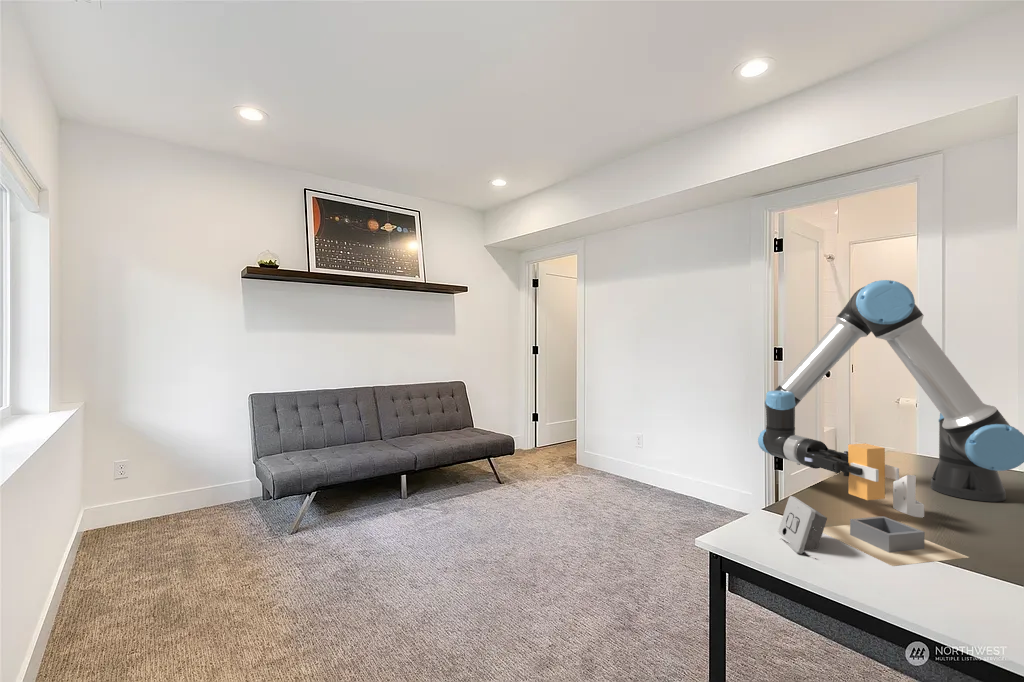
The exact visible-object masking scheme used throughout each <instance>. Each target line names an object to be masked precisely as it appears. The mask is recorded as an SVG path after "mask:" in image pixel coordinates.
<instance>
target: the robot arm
mask: <svg viewBox="0 0 1024 682" xmlns="http://www.w3.org/2000/svg"><path fill="white" fill-rule="evenodd" d="M923 319H924V314H923V313H922V311H921V310H920V308H919V307H918V306H917V305H916V301H915V297H914V294H913V291H911V289H910V288H909V287H908V286H906V285H905V284H903V283H901V282H899V281H895V280H891V279H890V280H889V279H881V280H875V281H873V282H871V283H868V284H867V285H865V286H863V287H861V288H859V289H857V290H856V291H855V292H854V293H853V295H852V296H851V298H850V299H849V300H848V302H847V304H846V305H845V306H844V307H843V308H842V309H841V311H840V312H839V313H838V315H837V316H836V317H835V324H833V326H831V328H830V329H829V330H828V331H826V334H824V335H823V337H821V339H820V340H819V341H818V342H817V343H816V344H815V346H814V347H812V348H811V350H810V351H809V352H808V353H807V354H806V355H805V356H804V358H802V359H801V361H800V362H799V363H798V364H797V365H796V366H795V367H794V368H793V370H791V372H789V374H788V375H787V376H786V377H785V378H783V379H784V380H782V381H781V382H780V384H779V385H778V386H777V387H776V388H775V389H774V390H768V391H767V392H766V394H765V395H766V396H765V401H764V407H765V420H766V421H765V422H766V425H765V429H763V430H762V431H761V432H760V433H759V435H758V437H757V438H758V439H757V444H758V446H759V448H760V449H761V450H762V451H763V452H765V453H766V454H769V455H771V456H773V457H778V458H780V459H784V460H787V461H790V462H794V463H796V465H797V466H801V465H802V466H804V467H808V468H812V469H814V470H815V469H824V470H827V471H830V472H833V473H836V474H841V473H843V477H848V476H849V472H850V473H851V474H852V475H856V476H859V477H862V478H865V479H869V480H872V481H875V482H879V470H878V469H874V468H871V467H867V466H863V465H860V464H856V463H851V465H849V463H848V451H842V452H841V451H836V450H835V449H829V447H828V446H827V444H825V442H823V441H820V440H817V439H813V438H809V437H805V436H801V435H797V434H796V407H797V406H798V405H799V404H800V402H801V401H802V400H803V399H804V398H805V397H806V396H807V394H809V392H810V391H812V389H813V388H814V387H815V386H817V384H818V383H819V382H820V381H821V380H822V379H823V377H824V376H825V375H827V374H828V372H829V371H830V370H831V369H832V368H834V366H835V365H836V364H837V363H838V362H839V361H840V360H841V359H842V357H844V355H846V353H848V351H849V350H850V349H851V348H852V347H853V346H854V345H855V344H856V343H857V342H858V341H859V339H861V338H866V337H868V335H870V334H871V333H872V334H873V335H874V337H875V338H876V339H878V340H879V339H881V340H884V341H886V342H887V344H888V345H889V346H890V348H891V349H892V350H893V351H894V353H895V354H896V355H897V357H898V358H899V359H900V360H901V362H902V363H903V365H904V366H905V368H906V369H907V370H908V371H909V373H910V374H911V376H912V377H913V378H914V380H915V381H916V382H917V383H918V385H919V386H920V388H921V389H922V390H923V391H924V393H925V394H926V396H927V397H928V399H930V401H931V402H932V403H933V405H934V406H935V407H936V409H937V410H938V412H939V419H938V424H939V425H938V427H939V428H938V429H939V430H938V433H939V434H938V436H939V437H938V439H939V440H938V445H939V447H938V448H939V449H938V451H939V452H938V455H939V456H938V463H937V464H936V467H935V470H934V472H933V474H932V476H931V478H930V488H931V489H932V490H933V491H935V492H938V493H939V494H940V493H941V494H944V495H946V496H950V497H956V498H960V499H965V500H971V501H979V502H991V503H992V502H996V503H997V502H1002V501H1006V493H1007V492H1006V489H1005V488H1004V484H1003V482H1002V479H1001V477H1000V474H999V472H1002V471H1003V472H1006V471H1009V470H1013V469H1015V468H1018V467H1019V466H1021V465H1022V464H1024V434H1023V433H1022V432H1021V431H1020V430H1019V429H1017V428H1016V427H1014V426H1012V425H1011V424H1010V423H1009V422H1008V420H1007V419H1006V418H1005V417H1004V416H1003V415H1002V413H1001V412H1000V411H999V409H997V407H996V406H994V405H990V404H986V403H984V402H983V401H982V400H981V398H980V397H979V395H978V394H977V393H976V391H975V390H974V389H973V388H972V387H971V386H970V384H969V383H968V382H967V380H966V379H965V378H964V376H963V375H962V374H961V373H960V371H959V370H958V369H957V367H955V365H954V364H953V362H952V361H951V360H950V359H949V357H948V356H947V355H946V353H945V352H944V350H943V349H942V348H941V347H940V346H939V344H938V343H937V342H936V341H935V339H934V338H933V337H932V335H931V334H930V333H929V331H928V330H927V329H926V327H925V326H924V325H923ZM885 478H888V479H891V480H894V481H896V480H899V479H900V468H899V467H896V466H892V465H888V464H885Z"/></svg>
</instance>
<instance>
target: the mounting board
mask: <svg viewBox="0 0 1024 682" xmlns="http://www.w3.org/2000/svg"><path fill="white" fill-rule="evenodd" d="M822 534H824V535H826V536H829V537H830V538H833V539H834V540H837V541H839V542H841V543H843V544H845V545H848V546H850V547H852V548H854V549H856V550H858V551H860V552H862V553H863V554H866V555H869V556H870V557H872V558H874V559H876V560H879V561H881V562H882V563H885V564H887V565H889V566H891V567H897V566H906V565H916V564H923V563H924V564H925V563H933V562H934V563H935V562H942V561H949V560H950V561H951V560H952V561H953V560H959V559H968V558H970V556H967V555H965V554H963V553H960V552H958V551H955V550H953V549H949V548H948V547H944V546H943V545H940V544H937V543H934V542H932V541H930V540H927V539H925V541H924V549H918V550H909V551H899V552H890V553H889V552H887V551H884V550H882V549H880V548H878V547H876V546H873V545H871V544H869V543H867V542H865V541H862V540H860V539H858V538H856V537H854V536H851V535H850V524H845V525H844V524H843V525H834V526H825V527H824V530H823V533H822Z"/></svg>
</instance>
